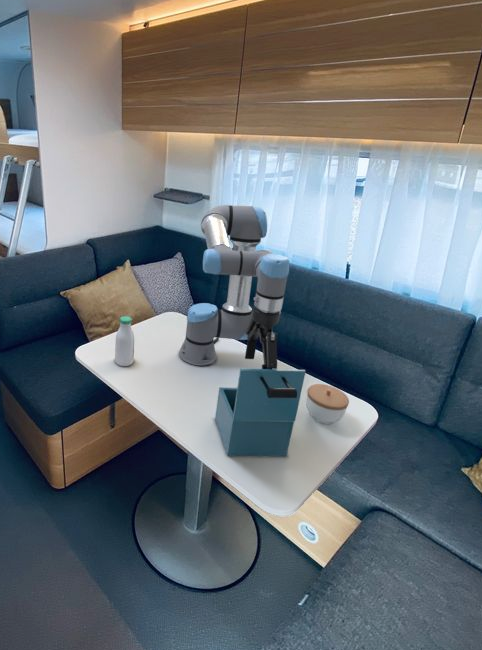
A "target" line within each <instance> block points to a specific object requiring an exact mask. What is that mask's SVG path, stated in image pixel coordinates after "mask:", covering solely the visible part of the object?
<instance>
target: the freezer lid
mask: <svg viewBox="0 0 482 650" xmlns="http://www.w3.org/2000/svg"><path fill="white" fill-rule="evenodd" d="M305 376H306V369H287V368H286V369H283V368H282V369H280V368H279V369H278V368H277V369H262V368H240V369H239V375H238V382H237V387H236V388H237V394H236V400H235V407H234V414H233V420H234V421H294V422H296V418H297V414H298V409H299V405H300V400H301V395H302V391H303V386H304V381H305Z"/></svg>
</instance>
